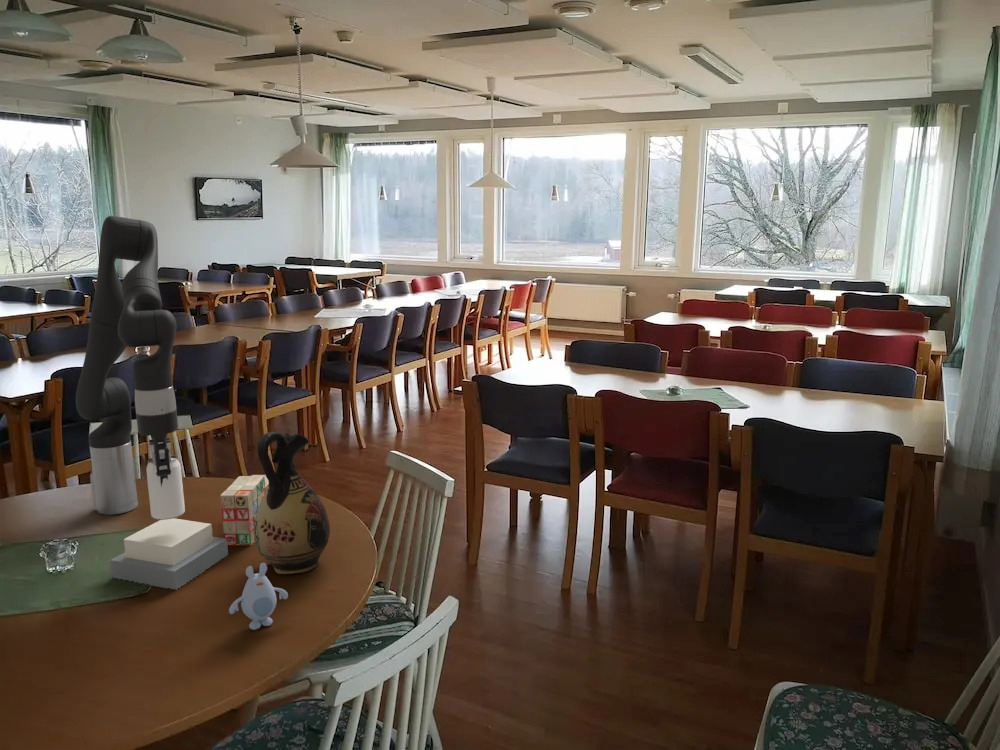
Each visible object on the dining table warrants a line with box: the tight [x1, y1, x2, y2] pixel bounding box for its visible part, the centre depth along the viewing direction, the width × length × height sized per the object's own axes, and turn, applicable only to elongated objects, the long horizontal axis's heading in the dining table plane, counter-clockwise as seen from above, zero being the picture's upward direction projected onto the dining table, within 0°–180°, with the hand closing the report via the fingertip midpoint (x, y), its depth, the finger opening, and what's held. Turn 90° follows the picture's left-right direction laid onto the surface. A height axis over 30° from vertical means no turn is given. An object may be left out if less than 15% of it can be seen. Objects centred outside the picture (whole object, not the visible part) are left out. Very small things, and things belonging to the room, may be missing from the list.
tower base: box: [110, 518, 229, 591], centre depth 162 cm, size 16×16×8 cm
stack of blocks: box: [220, 474, 269, 545], centre depth 182 cm, size 21×6×12 cm, turn 179°
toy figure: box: [228, 562, 289, 631], centre depth 138 cm, size 11×6×12 cm, turn 123°
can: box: [145, 454, 186, 521], centre depth 158 cm, size 6×6×12 cm
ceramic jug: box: [254, 431, 331, 575], centre depth 159 cm, size 17×15×30 cm
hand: (164, 487), depth 159 cm, fingers closed on can, 5 cm apart
